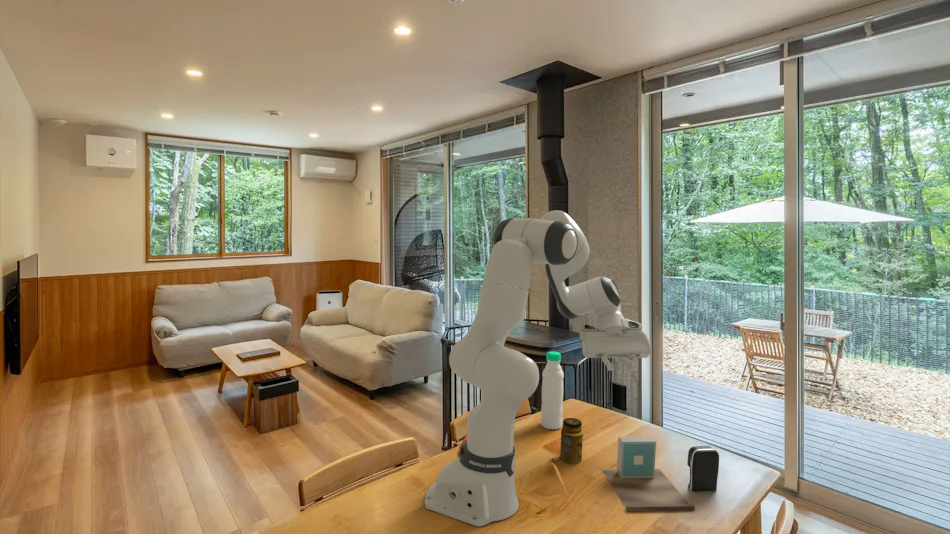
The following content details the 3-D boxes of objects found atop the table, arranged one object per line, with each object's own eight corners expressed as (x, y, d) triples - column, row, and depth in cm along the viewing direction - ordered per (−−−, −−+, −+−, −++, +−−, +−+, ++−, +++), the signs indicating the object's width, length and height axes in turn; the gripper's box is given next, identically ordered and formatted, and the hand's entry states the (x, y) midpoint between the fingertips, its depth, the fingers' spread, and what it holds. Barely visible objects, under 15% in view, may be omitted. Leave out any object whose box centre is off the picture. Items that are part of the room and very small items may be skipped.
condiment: (588, 463, 136) (589, 422, 135) (566, 471, 131) (567, 429, 130) (569, 453, 142) (571, 413, 141) (548, 460, 138) (549, 420, 136)
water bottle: (550, 419, 166) (552, 348, 164) (566, 426, 161) (569, 353, 158) (536, 425, 162) (538, 352, 159) (552, 432, 156) (554, 356, 154)
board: (601, 472, 131) (602, 466, 131) (659, 471, 132) (659, 465, 132) (627, 514, 112) (627, 507, 112) (694, 513, 113) (694, 506, 113)
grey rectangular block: (620, 478, 127) (622, 441, 126) (616, 472, 130) (618, 436, 129) (654, 478, 127) (656, 441, 126) (649, 472, 130) (651, 436, 130)
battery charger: (708, 485, 126) (711, 443, 125) (717, 493, 122) (720, 450, 121) (683, 486, 125) (686, 444, 124) (691, 495, 121) (694, 451, 120)
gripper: (580, 323, 146) (588, 364, 137) (646, 323, 147) (658, 364, 138) (576, 334, 151) (583, 374, 142) (640, 334, 152) (651, 374, 143)
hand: (621, 369), depth 140 cm, fingers open, 5 cm apart
